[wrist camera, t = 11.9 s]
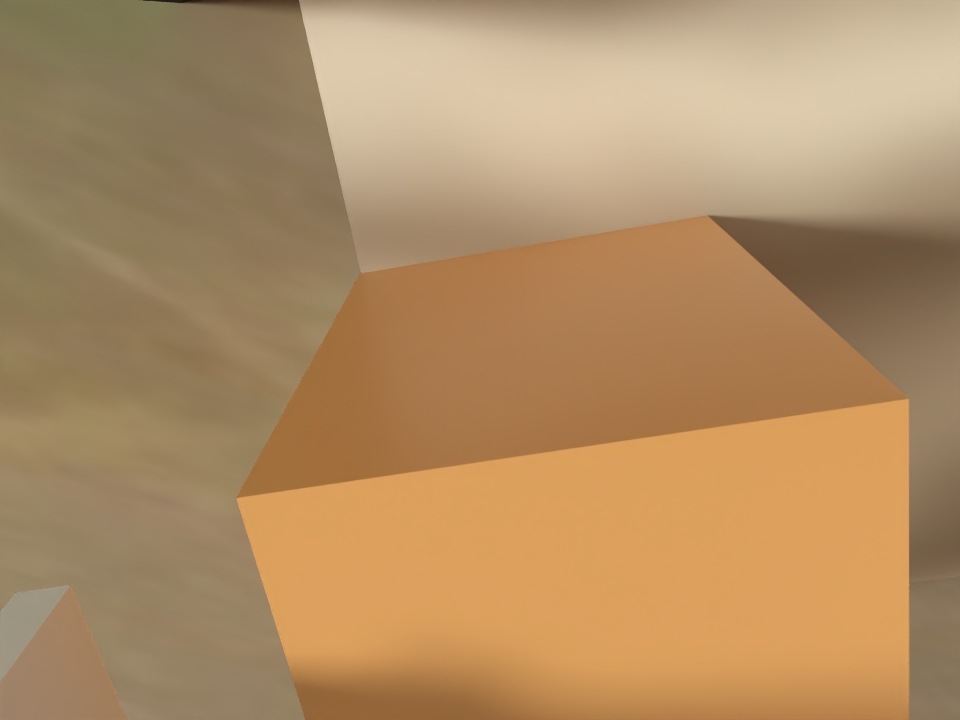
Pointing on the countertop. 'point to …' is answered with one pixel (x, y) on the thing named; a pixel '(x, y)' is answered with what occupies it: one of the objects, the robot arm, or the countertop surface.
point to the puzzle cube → (176, 0)
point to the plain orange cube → (588, 495)
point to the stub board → (681, 159)
